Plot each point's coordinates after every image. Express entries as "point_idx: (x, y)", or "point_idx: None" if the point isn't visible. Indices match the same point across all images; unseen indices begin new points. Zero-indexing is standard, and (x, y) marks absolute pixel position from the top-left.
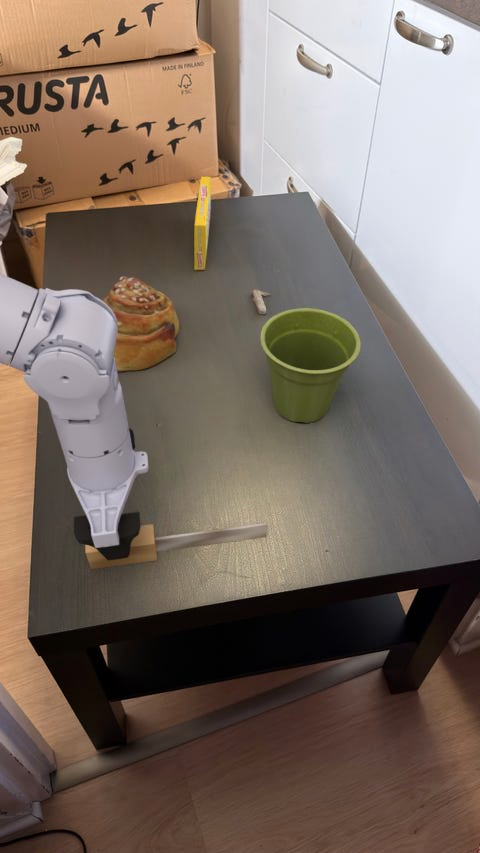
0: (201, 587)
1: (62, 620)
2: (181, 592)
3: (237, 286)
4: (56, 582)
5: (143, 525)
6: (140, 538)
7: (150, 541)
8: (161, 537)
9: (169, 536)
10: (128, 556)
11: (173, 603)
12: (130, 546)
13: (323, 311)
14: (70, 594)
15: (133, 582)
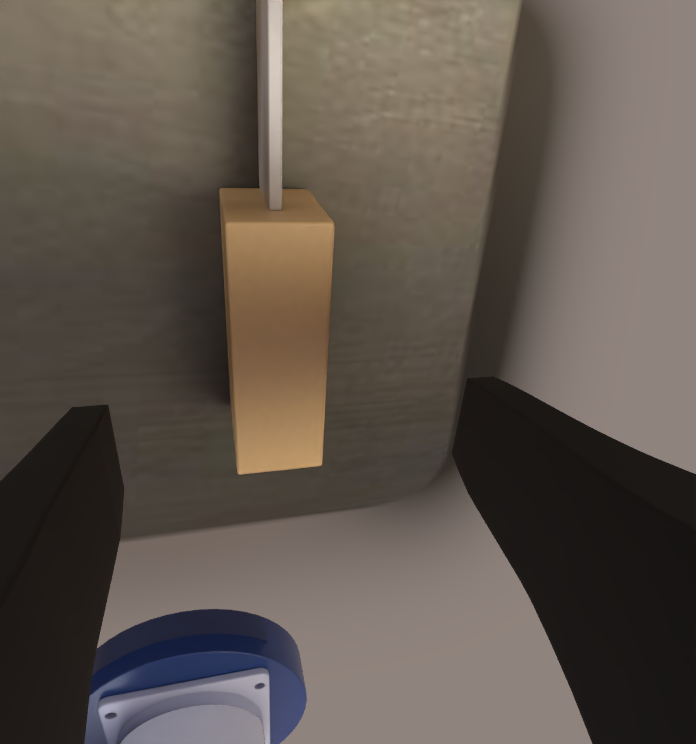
0: (462, 17)
1: (434, 450)
2: (457, 109)
3: None
4: (324, 477)
5: (228, 267)
6: (298, 283)
7: (321, 241)
8: (273, 178)
9: (273, 138)
10: (494, 377)
11: (487, 147)
12: (580, 422)
13: None
14: (368, 442)
15: (375, 278)
